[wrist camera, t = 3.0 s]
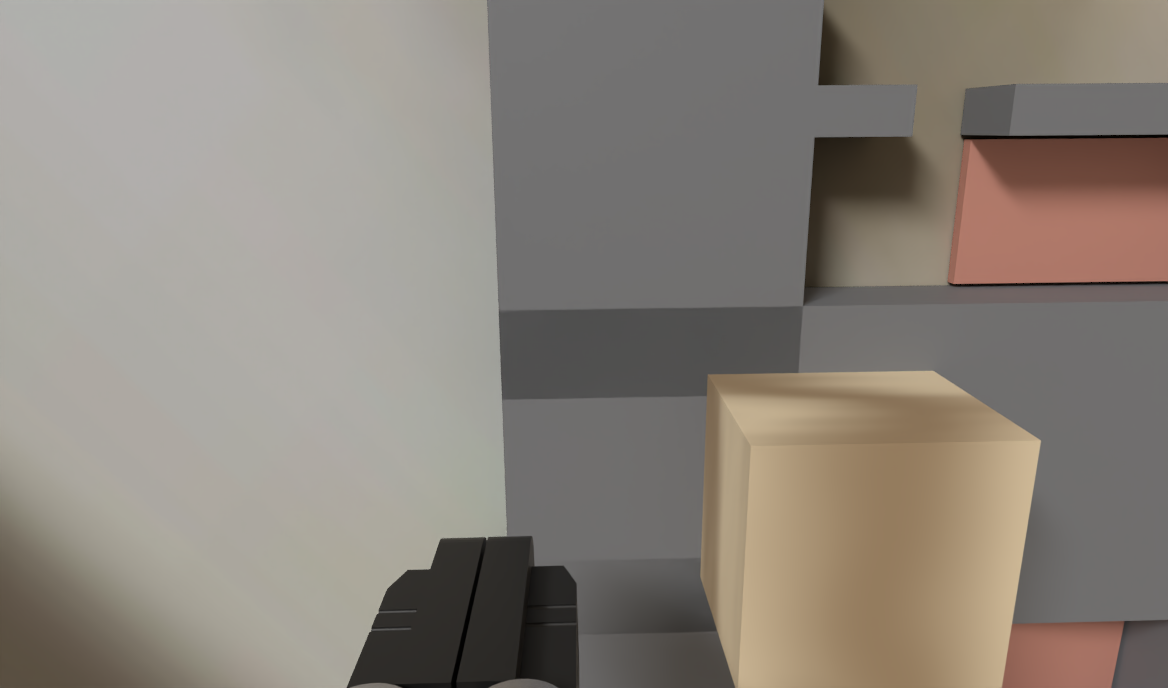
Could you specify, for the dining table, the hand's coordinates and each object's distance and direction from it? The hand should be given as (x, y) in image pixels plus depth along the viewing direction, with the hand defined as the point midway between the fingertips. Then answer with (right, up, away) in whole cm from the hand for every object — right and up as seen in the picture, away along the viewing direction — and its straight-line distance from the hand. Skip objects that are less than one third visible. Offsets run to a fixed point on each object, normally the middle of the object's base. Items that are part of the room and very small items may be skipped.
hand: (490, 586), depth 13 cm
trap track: (+11, +2, +7) cm, 13 cm away
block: (+7, +1, +5) cm, 8 cm away
